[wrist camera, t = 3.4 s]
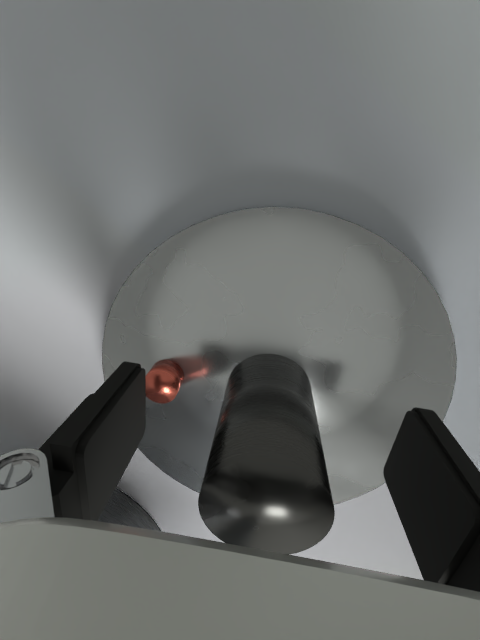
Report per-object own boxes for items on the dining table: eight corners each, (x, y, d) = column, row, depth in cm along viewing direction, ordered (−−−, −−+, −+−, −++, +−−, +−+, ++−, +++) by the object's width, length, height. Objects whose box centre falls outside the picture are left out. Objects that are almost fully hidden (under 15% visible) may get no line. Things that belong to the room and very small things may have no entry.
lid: (502, 234, 11) (788, 283, 5) (382, 510, 16) (445, 694, 10) (108, 182, 11) (-73, 170, 5) (120, 464, 17) (36, 610, 11)
